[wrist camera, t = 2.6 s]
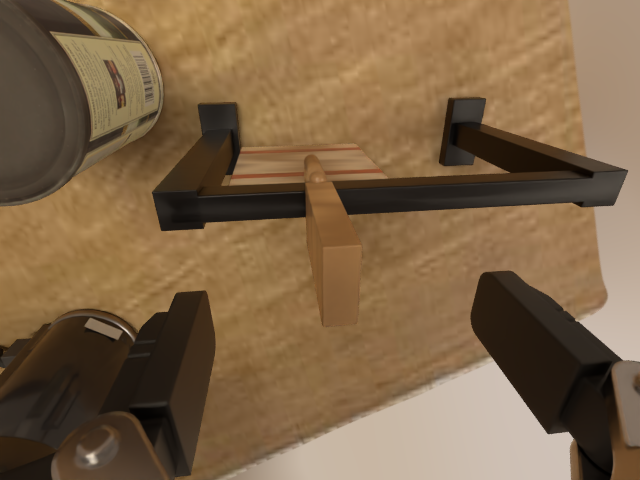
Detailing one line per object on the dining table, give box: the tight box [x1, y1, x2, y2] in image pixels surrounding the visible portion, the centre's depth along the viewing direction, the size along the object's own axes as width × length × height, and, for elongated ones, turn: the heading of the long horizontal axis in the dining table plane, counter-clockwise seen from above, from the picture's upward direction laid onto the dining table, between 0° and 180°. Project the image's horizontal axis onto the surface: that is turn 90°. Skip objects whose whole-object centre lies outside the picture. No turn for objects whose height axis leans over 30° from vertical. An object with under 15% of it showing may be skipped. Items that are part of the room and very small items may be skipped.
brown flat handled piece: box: [229, 144, 389, 327], centre depth 19 cm, size 9×4×19 cm, turn 90°
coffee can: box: [0, 0, 164, 206], centre depth 22 cm, size 10×10×14 cm
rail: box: [152, 97, 628, 231], centre depth 25 cm, size 25×6×17 cm, turn 90°
